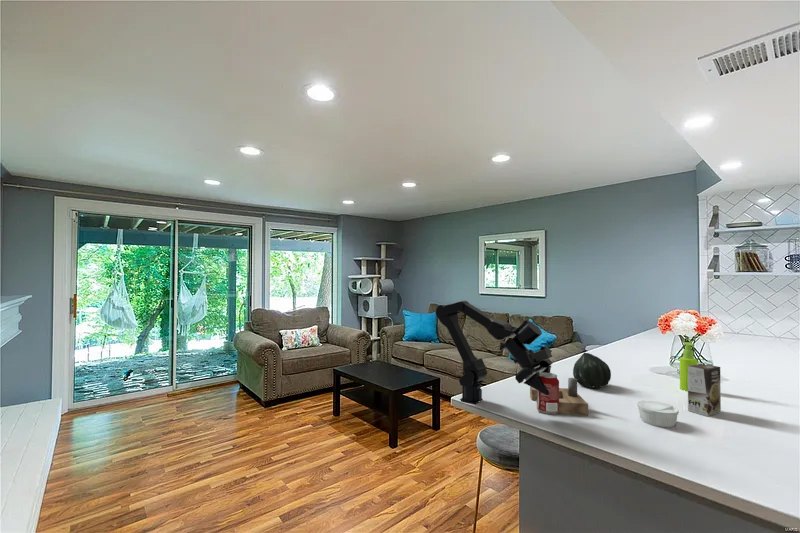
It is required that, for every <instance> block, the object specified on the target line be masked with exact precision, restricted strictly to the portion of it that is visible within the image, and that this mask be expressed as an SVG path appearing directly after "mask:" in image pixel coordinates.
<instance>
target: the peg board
mask: <svg viewBox="0 0 800 533" xmlns="http://www.w3.org/2000/svg"><path fill="white" fill-rule="evenodd" d="M567 380H568V381H567V384H568V385H567V387H568V388H566V387H565V388H562V387H561V388H560V387H559V412H557V413H555V414H558V415H571V416H572V415H573V416H575V415H576V416H587V417H588V416H589V404H588V402H587V401H586V400H584V397H583V398H582V396H580V394H578V382H577V379H575V378H574V377H568V378H567ZM529 397H530V399H531V400H532V401H537V390H536V389H535V388H533V387H531V386H529ZM536 409H537V408H536ZM536 411H537V412H538V413H541V414H544V413H543V412H541V411H540V410H538V409H537V410H536Z"/></svg>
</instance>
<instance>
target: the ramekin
mask: <svg viewBox="0 0 800 533" xmlns="http://www.w3.org/2000/svg"><path fill="white" fill-rule="evenodd" d="M636 405H637V409H638V413H639V418H640V419H641V420H642V421H643V423H645V424H648V425H650V426H653V427H654V426H655V427H658V428H673V427H675V425H676V424H677V419H678V415H679V412H680V411H679V409H678V408H677V407H676V406H674V405H671V404H668V403H665V402H661V401H654V400H640V401H637V404H636Z"/></svg>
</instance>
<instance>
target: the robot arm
mask: <svg viewBox="0 0 800 533" xmlns="http://www.w3.org/2000/svg"><path fill="white" fill-rule="evenodd" d="M434 312H435V316H436V318H437V319H438V320H439V322H440V323H441V324H442V325H443V326H444V327H445V328H446V329H447V331H448V333H449V335H450V338H451V340H452V342H453V344H454V345H455V347H456V350H457V351H458V354H459V356H460V357H461V358H460V359H461V360H462V370H463V373H464V374H463V376H461V377H460V378H459V379H458V381H459V386H461V388H462V390H461V393H462V394H461V396H462V397H461V398H460V399H459V400H461V402H465V403H469V404H472V405H476V404H478V403H480V402H481V401H483V400H484V399H483V394H482V393H483V392H482V391H483V390H482V388H481V386H482V385H481V384H482V383H483V382H484V379H486V377H487V374H488V371H487V368H488V367H487V365H486V364H485V363H484V360H483V358H477V357H476V356H475V355H474V352H473V351H472V348H471V346H470V344H469V342H468V340H467V338H466V336H465V334H464V331H463V329H462V328H461V326H460V324H459V315H458V314H461V313H462V314H464V315H465V316H467V317H468V318H471V319H472V320H474V321H475V322H476V323H478V324H480V325H481V326H483V327H484V328H485V329H486V330H487V333H488V334H489V335H491V336H492V337H493V338H494V339H495V340H497V341H501V340H505V339H507V340H505V341H502V342H500V344H499V345H500V346H499V351H503V350H507V351H508V353H509V354H510V355H511V356H512V357H513V359H514V361H513V363H514V364H518V365H519V367H520V368H521V370H519V371H518V372H517V373H516V374H515V380H516V382H517V383H518V384H522V383H523V385H527V386H529V387H533V388H535V389H536V390H538V391H540V392H542V393H543V394H545V395H548V394H549V392H548V390H547V388H546V387H545V385H544V384H543V382H542V381H541V379H540V374H539V373H551V368H552V365H553V361H552V360H551V358H553V354H552V352H553V350H552V349H551V348H550V347H549V346H547V345H543V346H540V347H539V350H536V351H534V350H533V349H529V348H527V346H526V345H529V346H530V345H531V344H532V343H533V342H535V341H536V340H537V339H538V338H539V337H540V336H541V335H542V334H543V332H542V330H541V328H539V326H538V325H536V324H535V323H534V322H531V320H529V319H525V320H524V321H523V322H522V324H520V325H519V326H518V327H515V326H513V325H512V324H511V323H510V322H507V321H504V320H502V319H498V318H495V317H493V316H491V315H489V314H488V313H486V312H484V311H482V310H481V309H479V308H477V307H476V306H474V305H472V303H470V302H468V301H467V300H459V301H457V302H454V303H450V304H448V303H447V304H440V305H438V306H437V307H436V309H435V311H434ZM512 336H513V337H512Z"/></svg>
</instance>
